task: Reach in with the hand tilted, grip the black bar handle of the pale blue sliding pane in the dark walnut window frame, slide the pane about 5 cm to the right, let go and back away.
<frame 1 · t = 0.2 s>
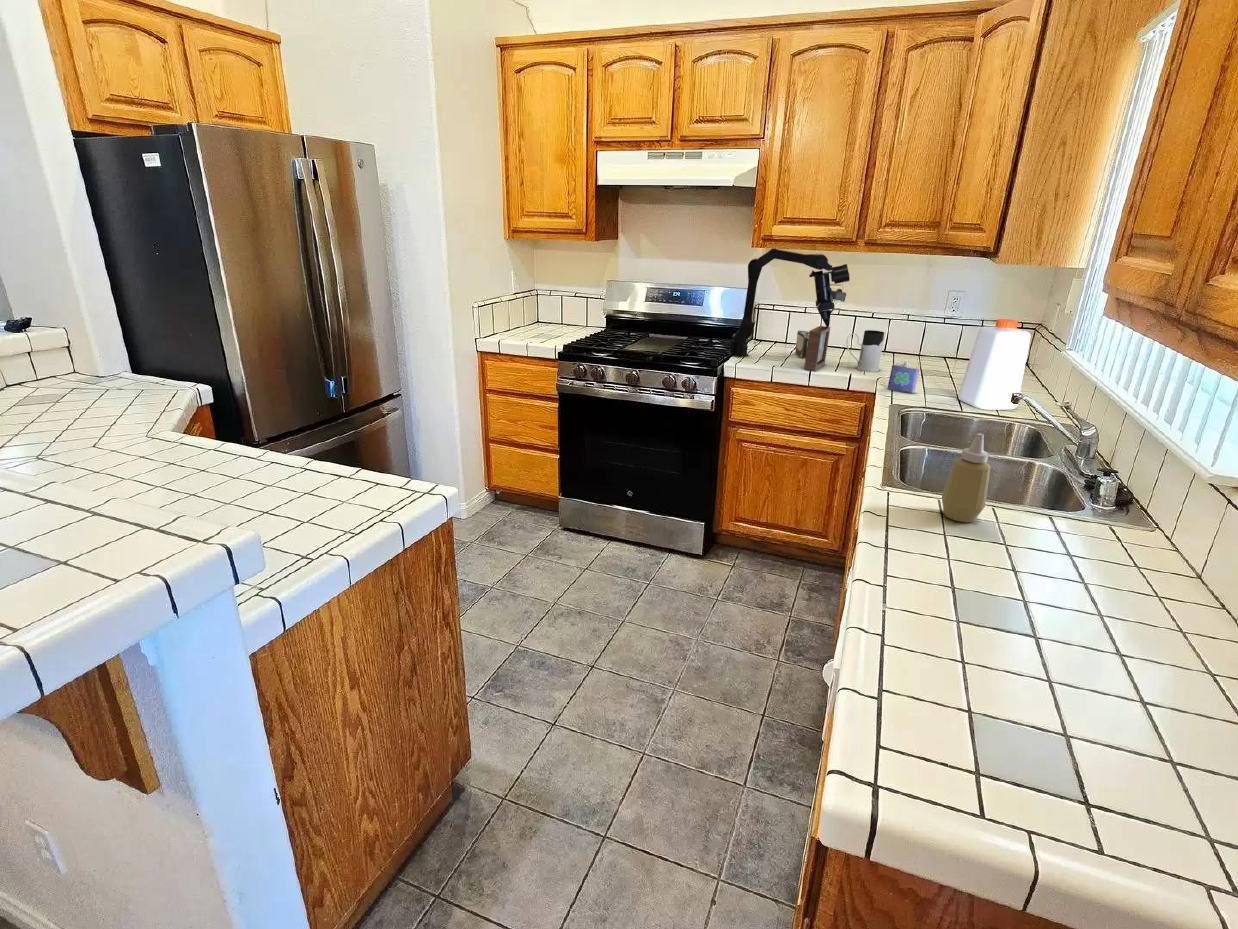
hand: (827, 324, 265), 16 cm above the countertop, tool pointing down, fingers open, 9 cm apart
squeeze bottle: (958, 517, 133), on the countertop
flask: (900, 391, 231), on the countertop
window sash: (808, 347, 257), point 8 cm above the countertop, slide at 0.0 cm
plastic bottle: (986, 404, 218), on the countertop
food container: (804, 356, 282), on the countertop
window frame: (814, 367, 262), on the countertop
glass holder: (860, 368, 262), on the countertop
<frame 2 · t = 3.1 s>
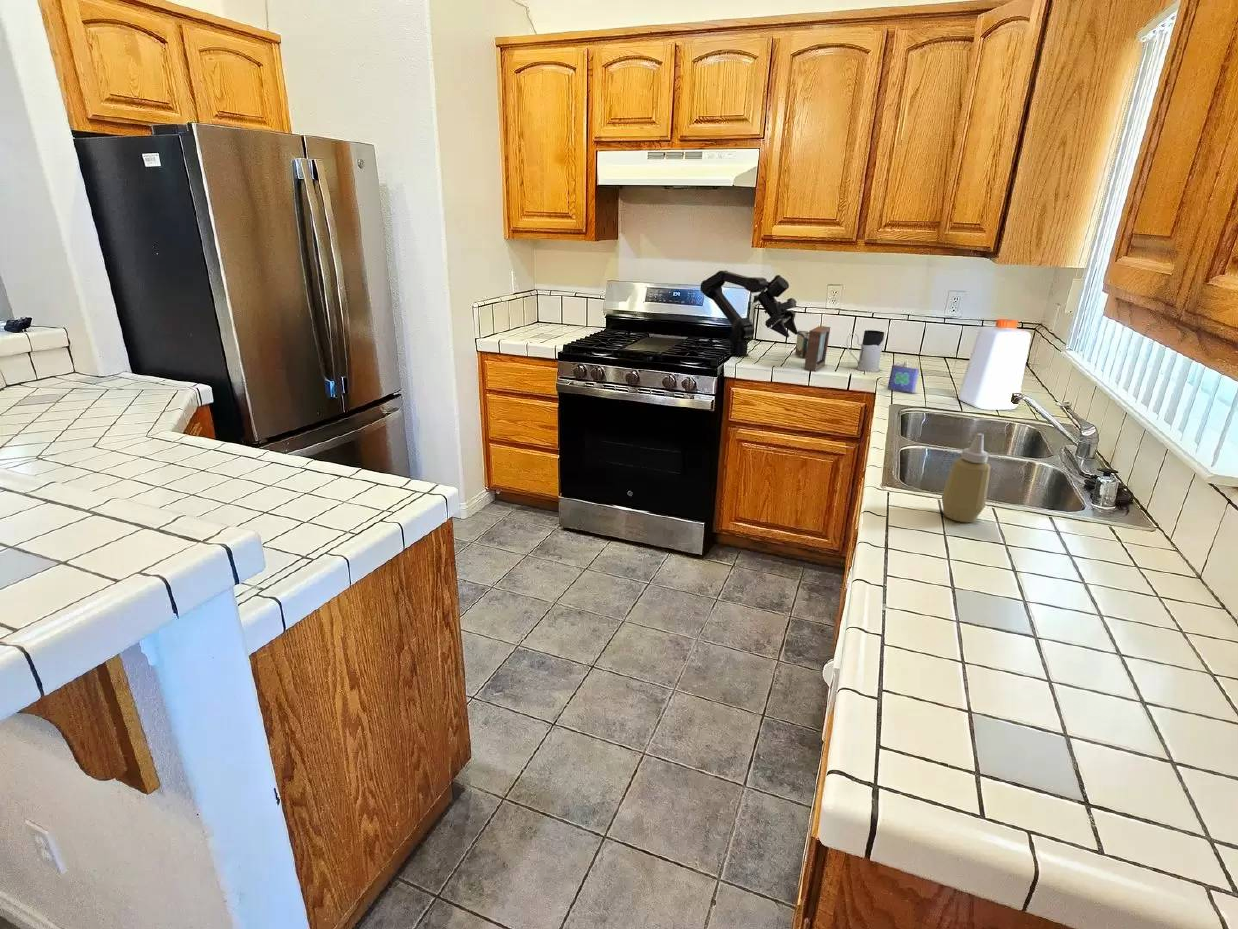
hand: (792, 335, 259), 12 cm above the countertop, tool tilted 45°, fingers open, 9 cm apart
nothing on the countertop moved.
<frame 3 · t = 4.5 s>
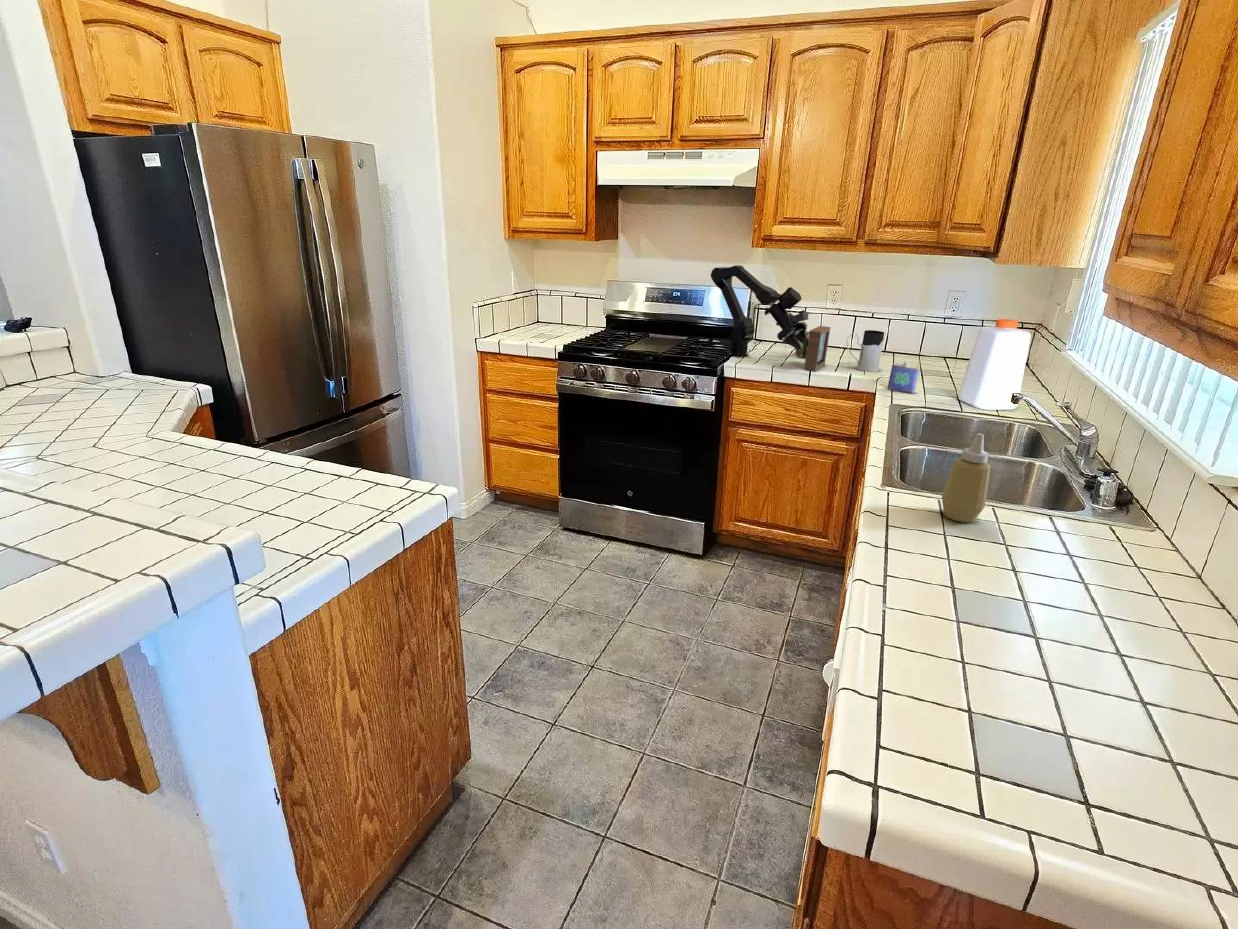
hand: (804, 347, 258), 8 cm above the countertop, tool tilted 45°, fingers open, 9 cm apart
nothing on the countertop moved.
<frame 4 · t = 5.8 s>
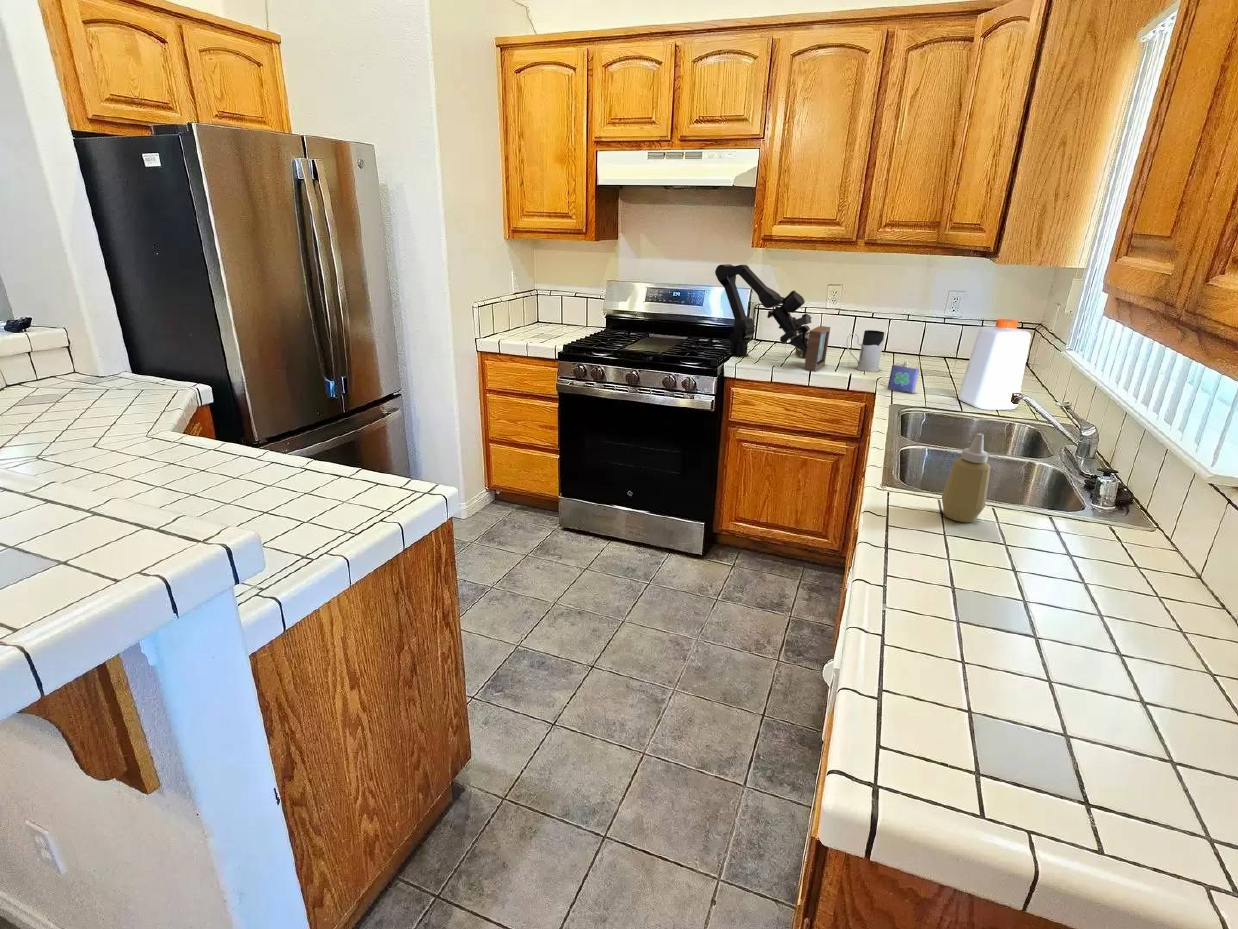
hand: (807, 351, 257), 7 cm above the countertop, tool tilted 45°, fingers closed on window sash
window sash: (808, 347, 257), point 8 cm above the countertop, slide at 0.0 cm, touching gripper
everything else where it was.
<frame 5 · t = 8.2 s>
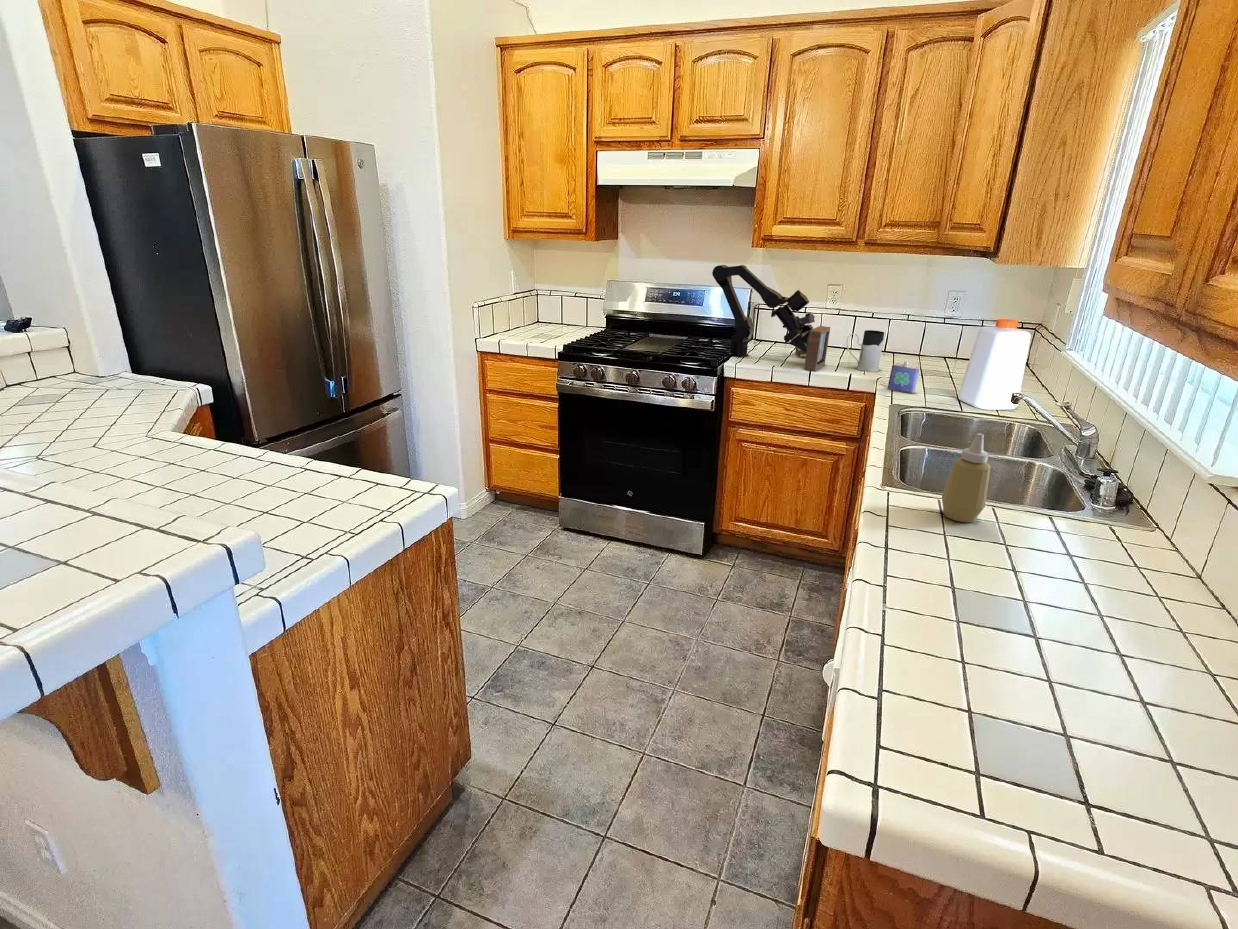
hand: (810, 350, 262), 6 cm above the countertop, tool tilted 45°, fingers open, 9 cm apart
window sash: (812, 346, 261), point 8 cm above the countertop, slide at 4.9 cm
everything else where it was.
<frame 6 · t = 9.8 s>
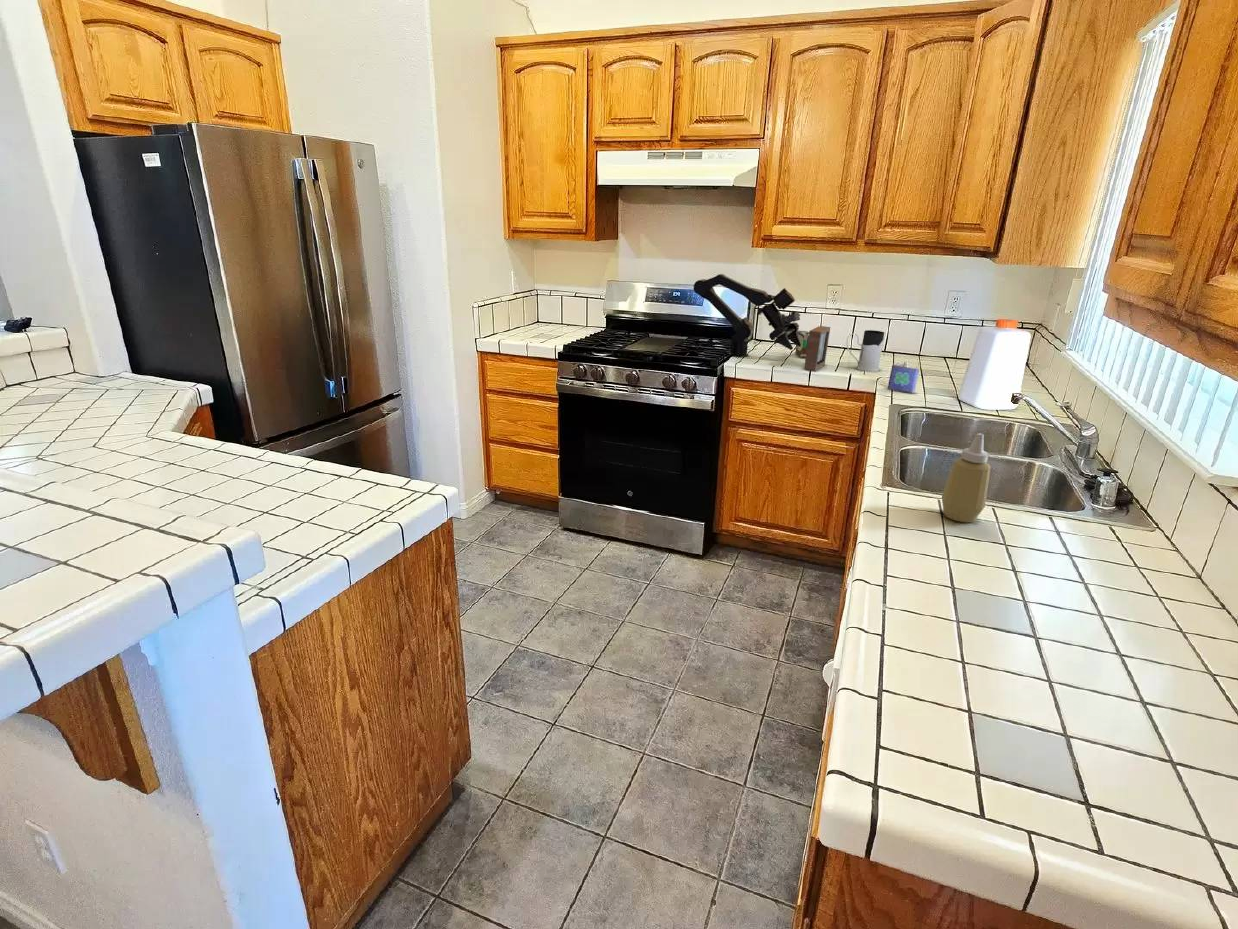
hand: (796, 347, 265), 6 cm above the countertop, tool tilted 45°, fingers open, 9 cm apart
nothing on the countertop moved.
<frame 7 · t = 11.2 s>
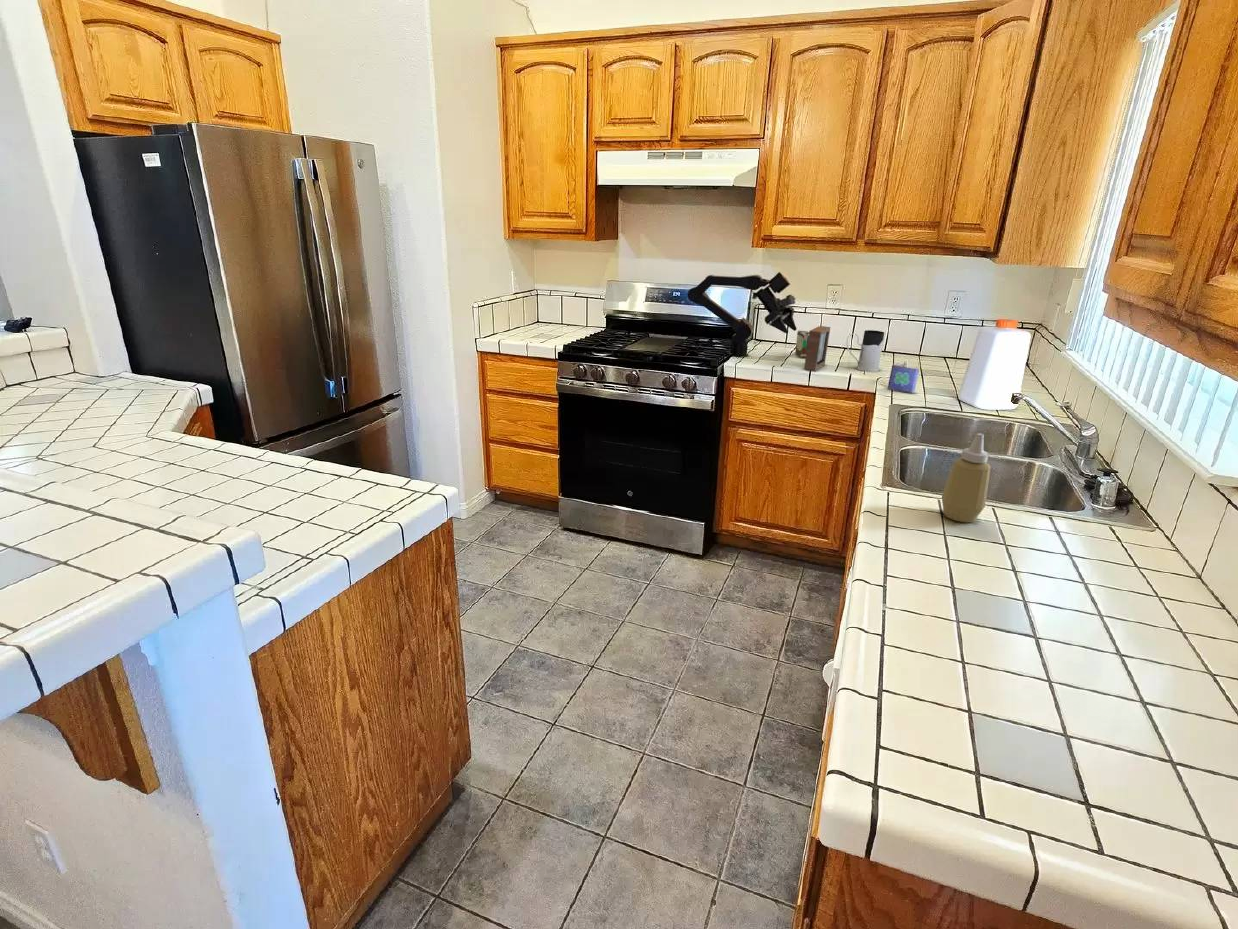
hand: (791, 331, 264), 13 cm above the countertop, tool tilted 45°, fingers open, 9 cm apart
nothing on the countertop moved.
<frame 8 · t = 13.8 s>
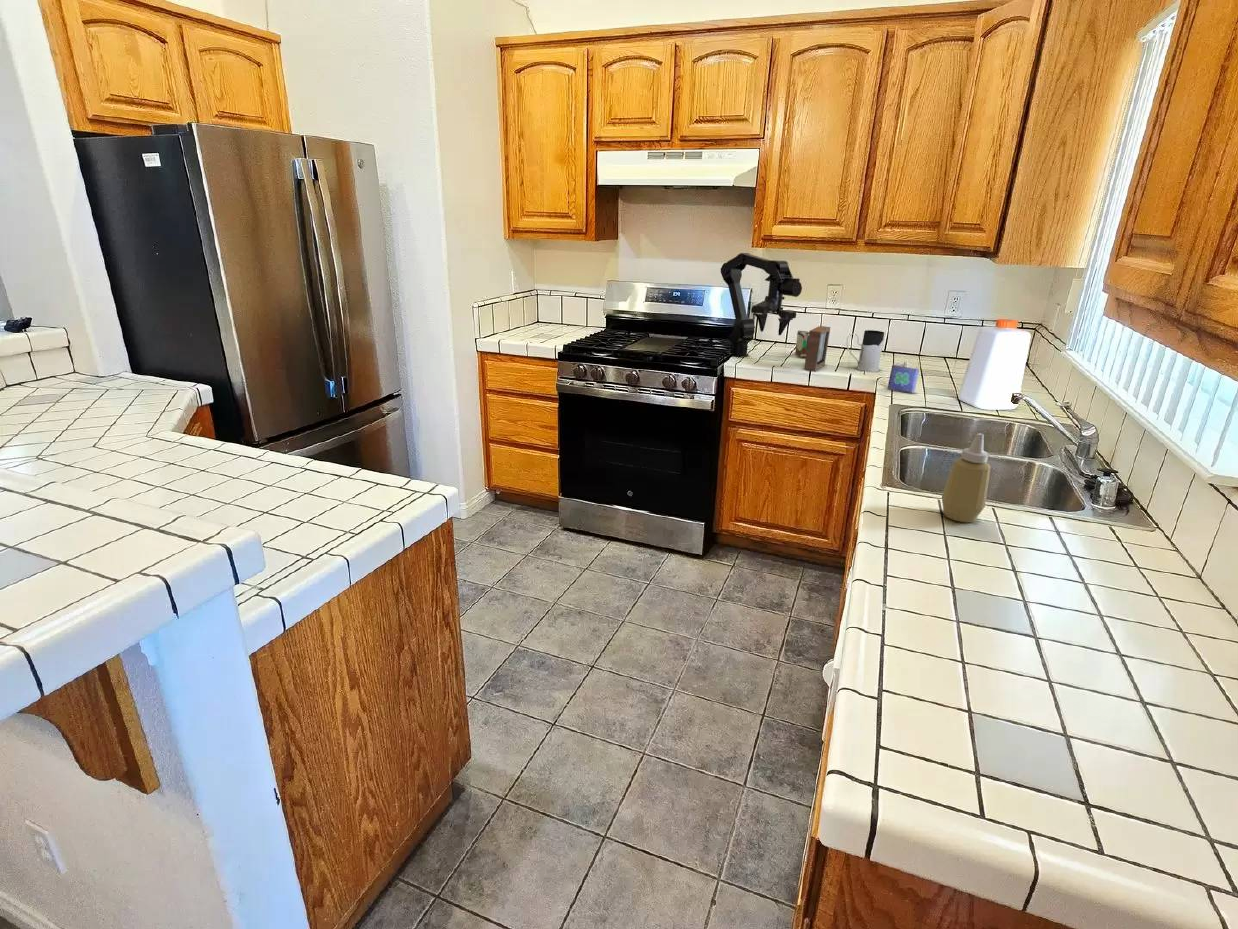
hand: (770, 333, 261), 12 cm above the countertop, tool pointing down, fingers open, 9 cm apart
nothing on the countertop moved.
at the end: window sash slide at 4.9 cm; the gripper is holding nothing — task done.
